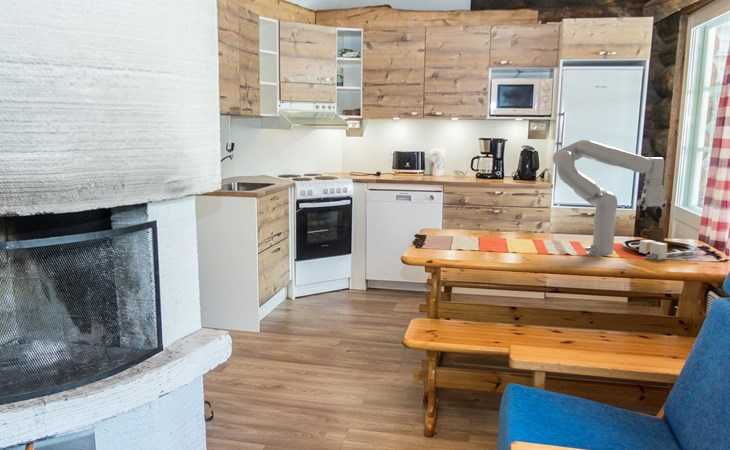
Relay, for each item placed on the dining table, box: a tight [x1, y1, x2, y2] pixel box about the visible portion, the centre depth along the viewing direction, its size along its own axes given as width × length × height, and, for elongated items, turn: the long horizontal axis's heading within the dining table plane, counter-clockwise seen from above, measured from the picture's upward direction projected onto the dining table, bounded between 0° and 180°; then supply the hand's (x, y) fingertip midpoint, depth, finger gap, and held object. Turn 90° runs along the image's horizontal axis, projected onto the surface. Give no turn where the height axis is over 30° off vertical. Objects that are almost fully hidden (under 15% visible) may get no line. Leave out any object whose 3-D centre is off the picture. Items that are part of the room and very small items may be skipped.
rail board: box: [642, 250, 696, 261], centre depth 274 cm, size 26×7×3 cm, turn 107°
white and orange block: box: [638, 239, 656, 255], centre depth 283 cm, size 5×6×7 cm
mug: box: [640, 227, 666, 244], centre depth 302 cm, size 12×8×9 cm, turn 83°
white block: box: [649, 242, 668, 260], centre depth 271 cm, size 5×6×7 cm
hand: (650, 217), depth 281 cm, fingers open, 9 cm apart
